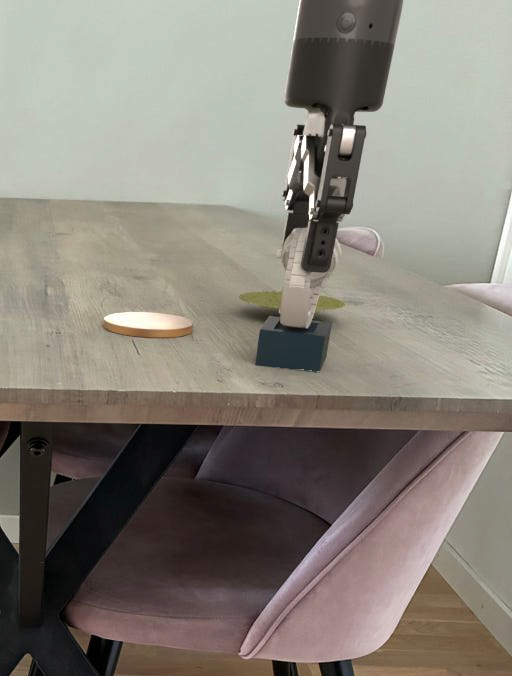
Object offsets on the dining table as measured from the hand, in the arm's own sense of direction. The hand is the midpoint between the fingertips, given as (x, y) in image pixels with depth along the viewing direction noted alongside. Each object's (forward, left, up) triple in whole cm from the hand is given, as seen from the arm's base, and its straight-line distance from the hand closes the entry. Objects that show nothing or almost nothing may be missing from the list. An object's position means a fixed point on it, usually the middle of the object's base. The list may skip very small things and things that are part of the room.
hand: (302, 265), depth 80 cm
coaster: (+11, -14, -8) cm, 20 cm away
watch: (0, -1, -8) cm, 8 cm away
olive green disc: (-5, -23, -8) cm, 25 cm away
